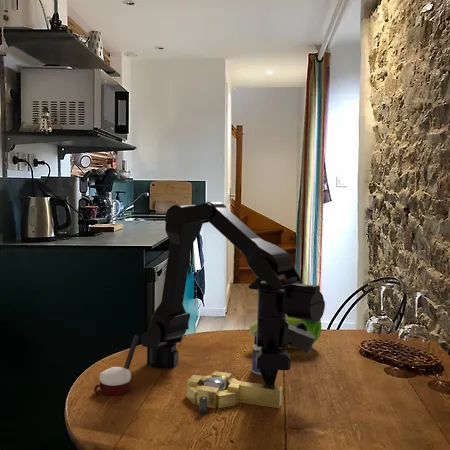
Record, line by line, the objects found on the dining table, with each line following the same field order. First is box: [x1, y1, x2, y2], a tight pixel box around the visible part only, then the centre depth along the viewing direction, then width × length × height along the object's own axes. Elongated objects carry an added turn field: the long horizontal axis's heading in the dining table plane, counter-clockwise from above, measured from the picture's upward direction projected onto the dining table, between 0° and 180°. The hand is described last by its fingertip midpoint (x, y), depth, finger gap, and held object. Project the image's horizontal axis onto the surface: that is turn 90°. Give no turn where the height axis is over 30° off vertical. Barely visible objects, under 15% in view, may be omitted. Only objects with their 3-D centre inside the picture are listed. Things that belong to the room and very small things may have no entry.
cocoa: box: [93, 334, 140, 397], centre depth 109 cm, size 10×6×12 cm, turn 106°
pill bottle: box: [251, 344, 262, 377], centre depth 122 cm, size 6×6×10 cm
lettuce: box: [248, 314, 322, 349], centre depth 145 cm, size 14×20×12 cm
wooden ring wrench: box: [186, 371, 283, 409], centre depth 106 cm, size 19×11×4 cm, turn 73°
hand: (269, 390), depth 107 cm, fingers closed
